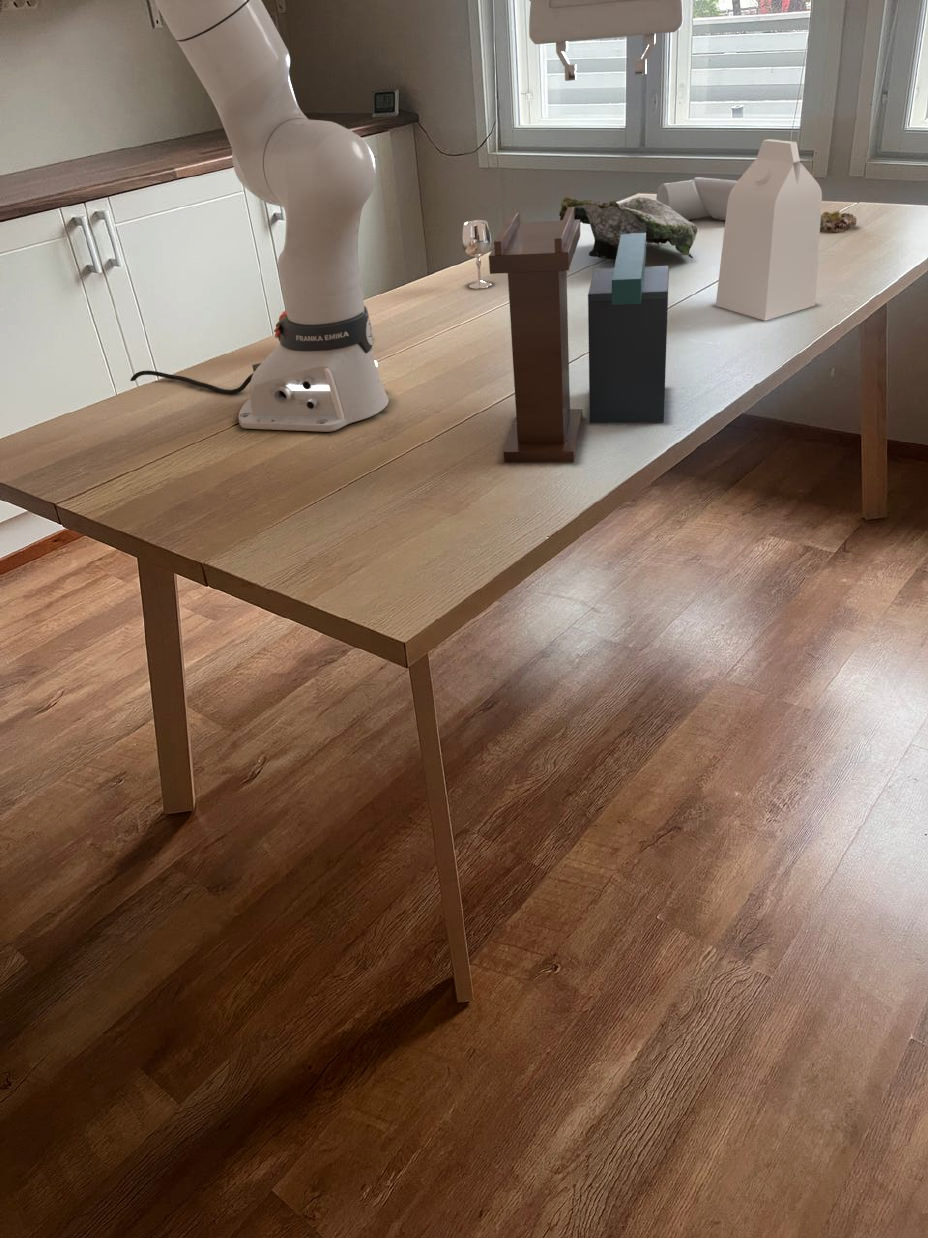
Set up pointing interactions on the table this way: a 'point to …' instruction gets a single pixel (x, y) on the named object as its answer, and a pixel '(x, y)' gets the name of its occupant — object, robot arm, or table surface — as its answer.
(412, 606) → the table surface
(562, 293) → the walnut stand
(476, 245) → the wineglass
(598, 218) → the mossy grey boulder
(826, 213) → the mineral rock
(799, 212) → the milk
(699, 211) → the bent grey cylinder
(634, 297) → the teal block
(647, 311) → the slate crate
